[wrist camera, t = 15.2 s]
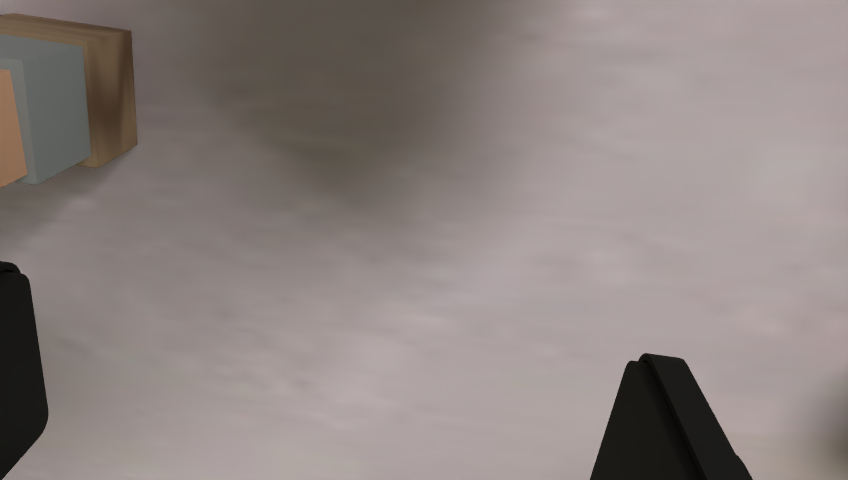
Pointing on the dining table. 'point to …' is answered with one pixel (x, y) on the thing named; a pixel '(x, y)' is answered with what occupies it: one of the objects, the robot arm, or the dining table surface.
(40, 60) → the slate top block
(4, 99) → the terracotta block
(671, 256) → the dining table surface
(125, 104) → the walnut base block
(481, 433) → the dining table surface
